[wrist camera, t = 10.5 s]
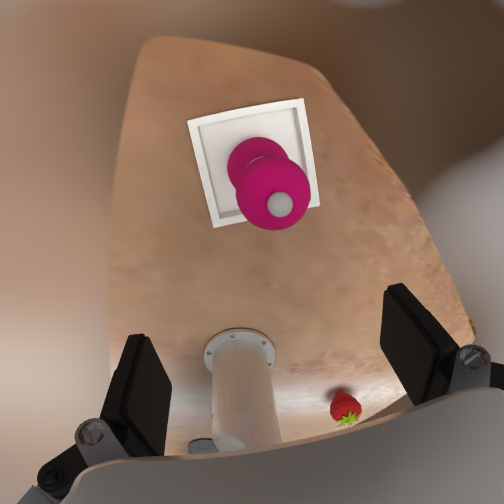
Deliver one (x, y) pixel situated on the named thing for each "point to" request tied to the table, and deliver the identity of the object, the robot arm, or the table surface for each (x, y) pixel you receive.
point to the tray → (237, 130)
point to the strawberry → (345, 408)
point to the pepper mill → (268, 184)
